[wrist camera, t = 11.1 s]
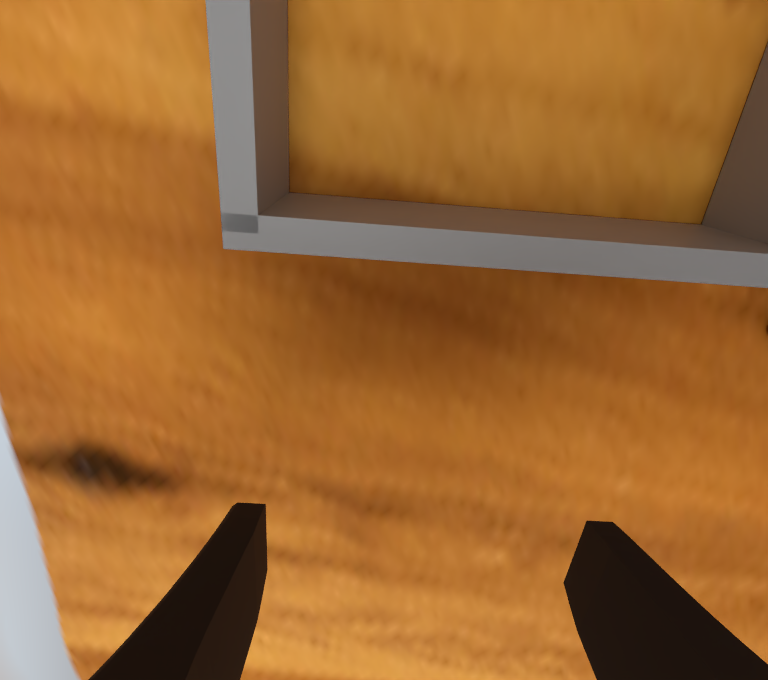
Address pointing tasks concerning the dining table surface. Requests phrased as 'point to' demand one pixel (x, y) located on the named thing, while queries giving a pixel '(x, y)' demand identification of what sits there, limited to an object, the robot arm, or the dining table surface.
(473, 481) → the dining table surface
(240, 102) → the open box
